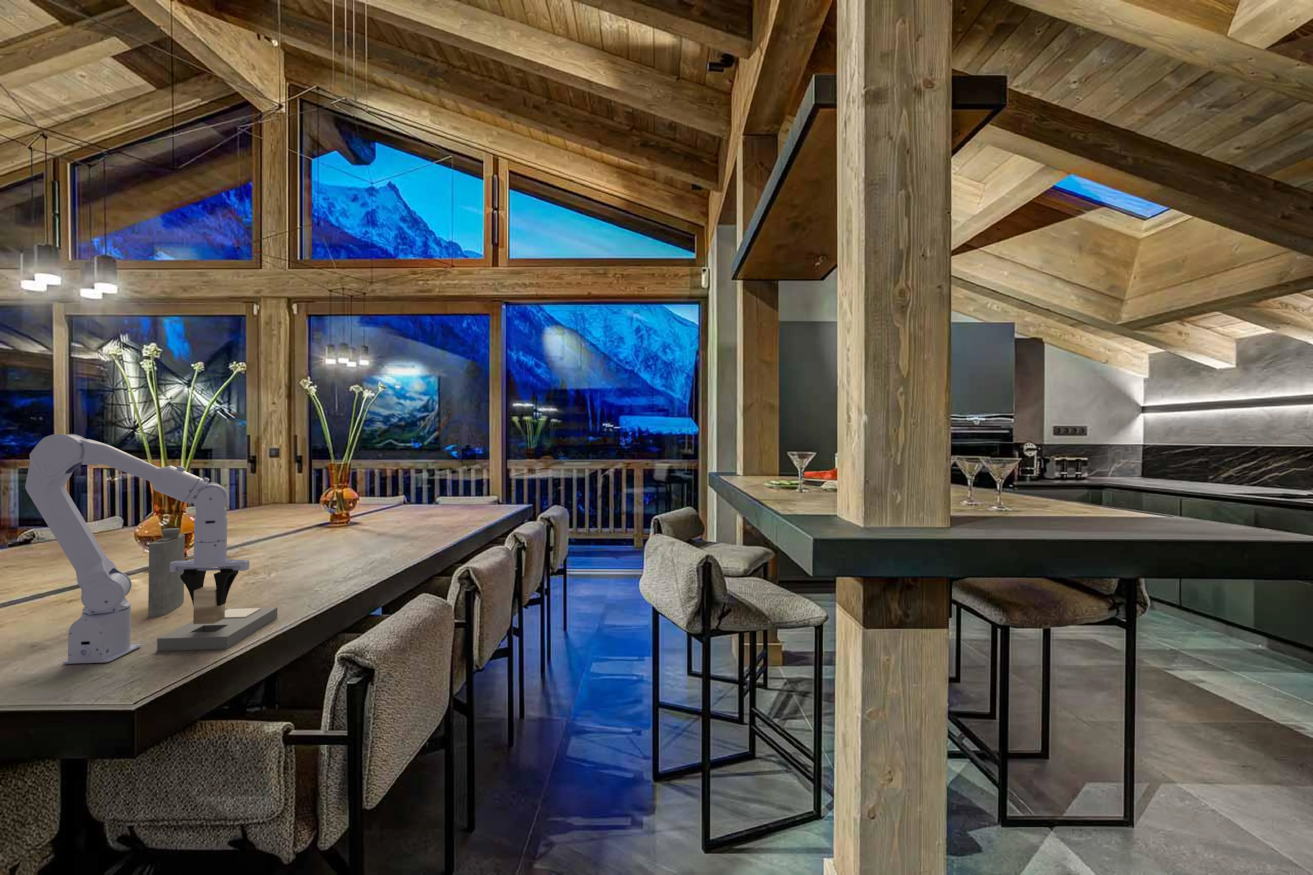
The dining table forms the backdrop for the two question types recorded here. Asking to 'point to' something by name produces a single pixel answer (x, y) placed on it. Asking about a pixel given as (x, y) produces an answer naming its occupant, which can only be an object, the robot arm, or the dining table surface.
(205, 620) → the peg
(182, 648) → the pocket plate
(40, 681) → the dining table surface
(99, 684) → the dining table surface
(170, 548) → the hip flask
